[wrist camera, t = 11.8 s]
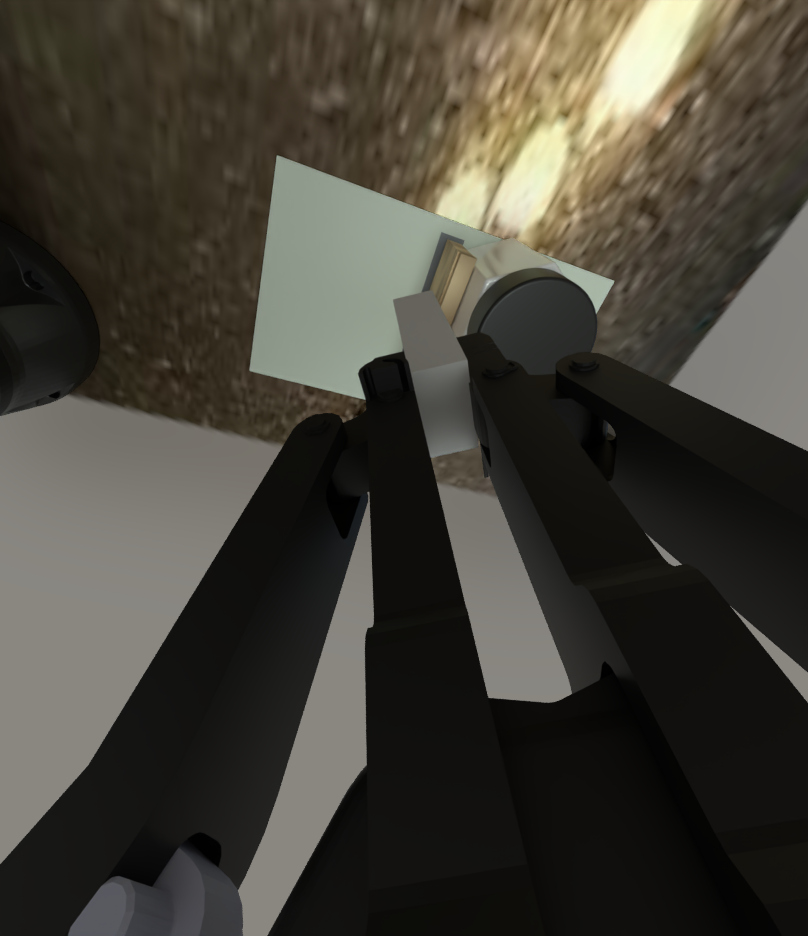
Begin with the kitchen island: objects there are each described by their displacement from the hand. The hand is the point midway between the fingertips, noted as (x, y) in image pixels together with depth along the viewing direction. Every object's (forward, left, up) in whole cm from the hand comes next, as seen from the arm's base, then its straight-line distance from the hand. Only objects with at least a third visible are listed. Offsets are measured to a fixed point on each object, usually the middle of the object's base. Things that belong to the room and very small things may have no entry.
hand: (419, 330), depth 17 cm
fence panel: (+5, -4, -22) cm, 23 cm away
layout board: (+5, -6, -22) cm, 24 cm away
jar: (+10, -2, -22) cm, 24 cm away
